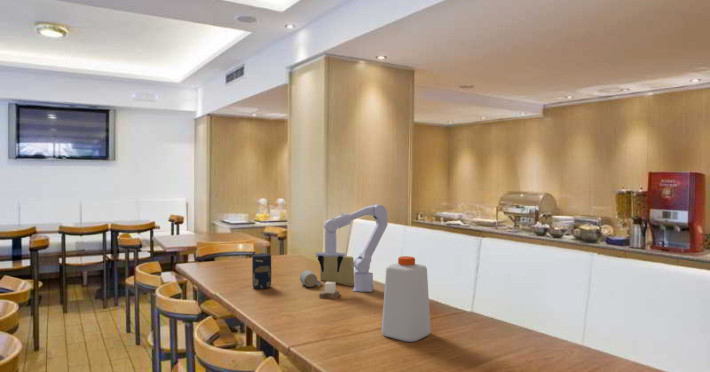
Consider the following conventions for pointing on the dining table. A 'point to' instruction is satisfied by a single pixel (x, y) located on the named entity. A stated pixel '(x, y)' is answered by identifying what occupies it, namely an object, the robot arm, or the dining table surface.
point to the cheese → (344, 274)
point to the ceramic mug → (309, 279)
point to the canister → (261, 270)
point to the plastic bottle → (406, 301)
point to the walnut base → (329, 294)
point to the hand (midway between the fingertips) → (330, 271)
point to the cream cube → (330, 287)
